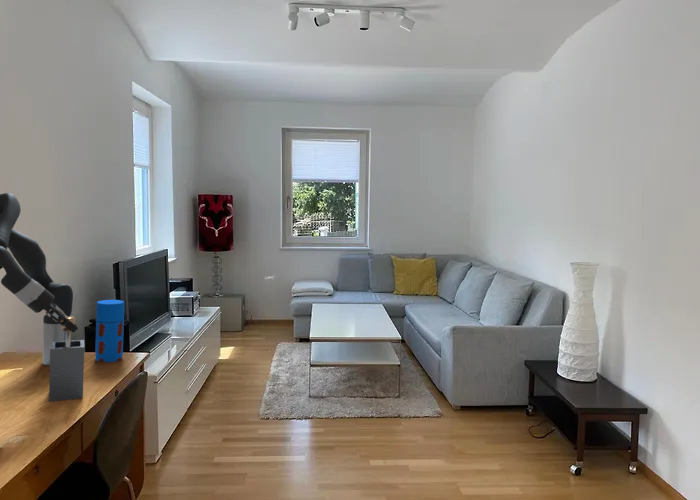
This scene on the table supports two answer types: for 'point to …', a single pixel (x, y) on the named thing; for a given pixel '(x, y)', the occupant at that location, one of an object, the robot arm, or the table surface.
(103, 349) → the thermos
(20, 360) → the table surface
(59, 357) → the press tower
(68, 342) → the plunger
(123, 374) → the table surface
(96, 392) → the table surface
